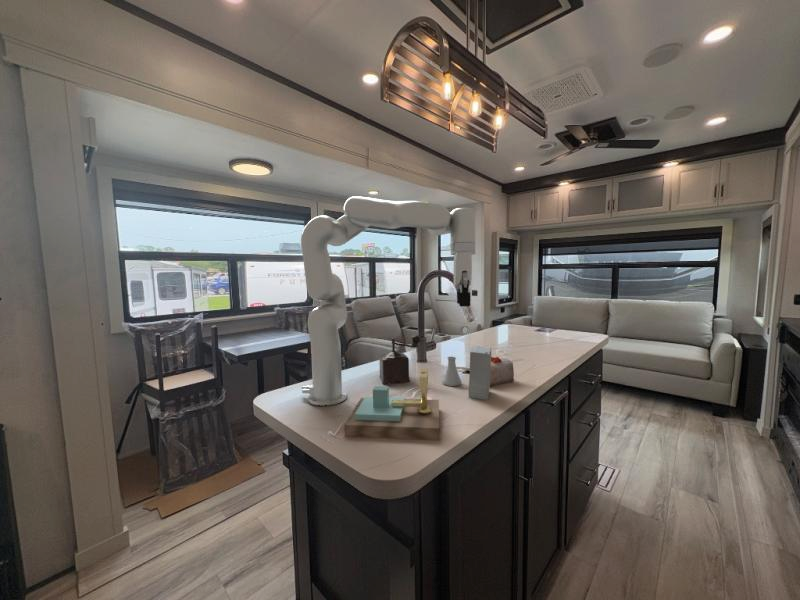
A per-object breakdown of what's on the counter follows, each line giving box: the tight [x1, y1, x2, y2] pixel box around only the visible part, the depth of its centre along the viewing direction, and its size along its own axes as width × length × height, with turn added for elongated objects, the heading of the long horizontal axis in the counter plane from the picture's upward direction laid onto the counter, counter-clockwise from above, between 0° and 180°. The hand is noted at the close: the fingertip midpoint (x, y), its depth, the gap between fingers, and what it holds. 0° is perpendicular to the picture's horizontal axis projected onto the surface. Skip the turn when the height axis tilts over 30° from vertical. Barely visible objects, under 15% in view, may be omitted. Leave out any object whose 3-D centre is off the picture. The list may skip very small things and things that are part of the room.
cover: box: [355, 385, 406, 421], centre depth 87 cm, size 12×12×6 cm
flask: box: [441, 356, 462, 387], centre depth 117 cm, size 7×7×10 cm
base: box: [343, 397, 440, 441], centre depth 87 cm, size 24×18×3 cm
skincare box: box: [468, 345, 492, 400], centre depth 105 cm, size 8×7×16 cm
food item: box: [490, 355, 515, 387], centre depth 117 cm, size 14×8×10 cm, turn 114°
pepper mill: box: [379, 334, 422, 386], centre depth 123 cm, size 16×11×18 cm
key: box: [391, 368, 432, 414], centre depth 86 cm, size 11×8×11 cm
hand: (463, 304), depth 97 cm, fingers open, 9 cm apart
